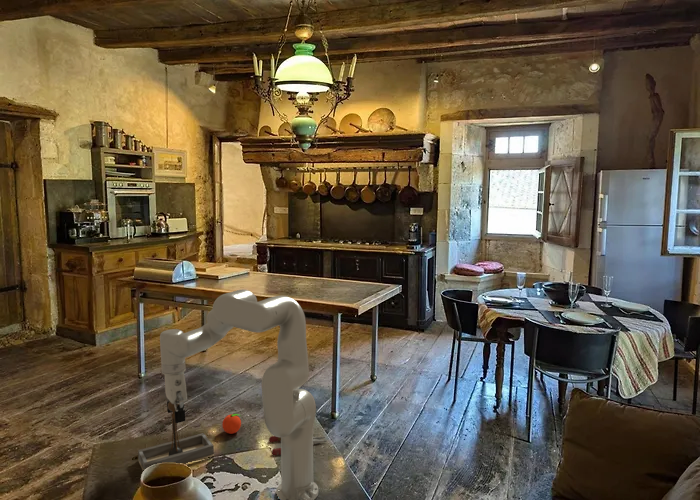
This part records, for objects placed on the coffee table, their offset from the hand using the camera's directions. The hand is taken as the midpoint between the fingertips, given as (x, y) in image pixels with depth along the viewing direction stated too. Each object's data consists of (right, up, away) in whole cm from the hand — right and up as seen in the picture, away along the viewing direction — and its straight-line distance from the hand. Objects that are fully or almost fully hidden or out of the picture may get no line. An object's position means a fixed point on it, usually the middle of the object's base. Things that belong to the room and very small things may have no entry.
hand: (176, 416), depth 165 cm
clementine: (+14, -13, +21) cm, 29 cm away
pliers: (+39, -15, +10) cm, 43 cm away
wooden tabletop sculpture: (0, -14, +1) cm, 14 cm away
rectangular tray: (-1, -15, +2) cm, 15 cm away
